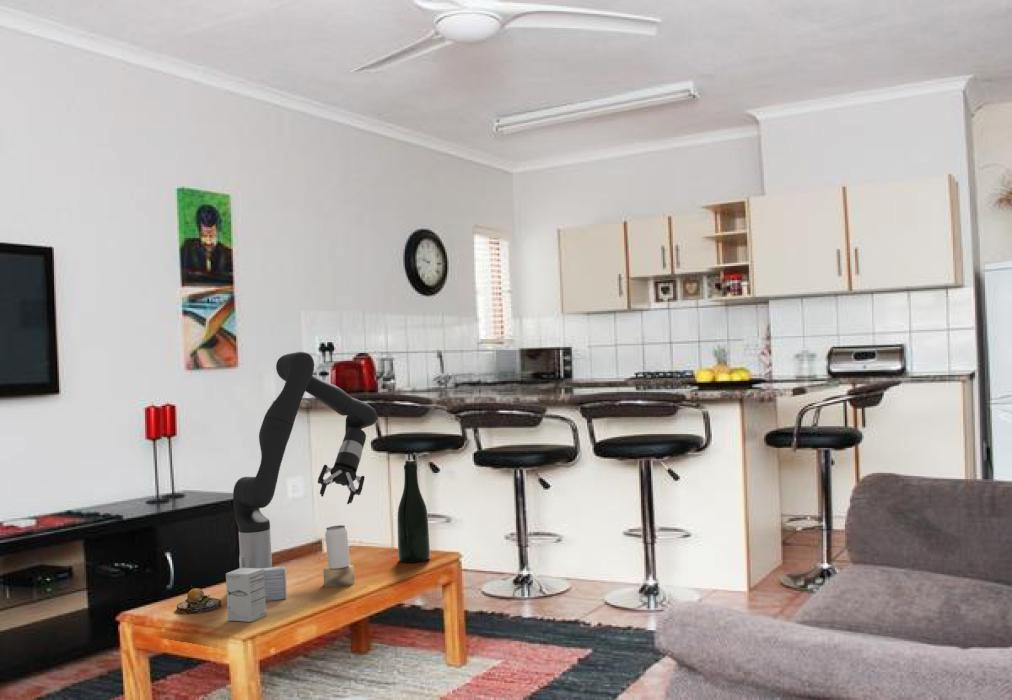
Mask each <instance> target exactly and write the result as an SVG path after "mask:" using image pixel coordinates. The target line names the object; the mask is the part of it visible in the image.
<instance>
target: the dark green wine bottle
mask: <svg viewBox="0 0 1012 700" xmlns="http://www.w3.org/2000/svg"><path fill="white" fill-rule="evenodd" d="M404 462H405V464H404V465H403V470H404V474H403V475H404V479H403V480H404V484H403V491H402V495H401V498H400V500H399V503H398V508H397V518H396V519H397V521H396V523H397V524H396V525H397V555H398V558H397V559H398V560H399V561H400V562H403V563H420V562H425V561H427V560H429V559H430V558H431V548H430V547H431V546H430V532H429V531H430V528H429V516H428V509H427V505H426V502H425V500H424V498H423V496H422V493H421V491H420V490H421V489H420V485H419V479H418V464H417V463H416V460H415V459H407V460H405V461H404Z"/></svg>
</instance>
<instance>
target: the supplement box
mask: <svg viewBox="0 0 1012 700" xmlns="http://www.w3.org/2000/svg"><path fill="white" fill-rule="evenodd" d="M225 580H226V581H225V582H226V583H225V586H226V608H227V611H226V612H227V621H228V622H229V621H230V622H231V621H233V622H234V621H235V622H248V623H251V622H254V621H257V620H258V619H260V618H263V617H265V616H266V615H267V612H266V611H267V608H266V606H267V605H266V602H267V601H265V578H264V569H260V568H240V567H239V568H237V569H234V570H231V571H229V572H226V573H225Z"/></svg>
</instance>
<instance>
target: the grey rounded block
mask: <svg viewBox="0 0 1012 700" xmlns="http://www.w3.org/2000/svg"><path fill="white" fill-rule="evenodd" d="M323 584H324V587H326V586H327V587H326V588H344V587H349V586H352V585H354V584H355V567H354V565H353V564H350V565H349V566H348V567H346V568H342V569H330V568H329V567H328V566H325V567H324V568H323Z"/></svg>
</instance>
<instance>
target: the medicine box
mask: <svg viewBox="0 0 1012 700" xmlns="http://www.w3.org/2000/svg"><path fill="white" fill-rule="evenodd" d="M261 569H264V578H265V601H266V602H269V601H278V600H279V601H280V600H287V596H288V594H287V593H288V592H287V591H288V590H287V576H286V575H287V573H286V566H283V565H282V566H274V567H273V566H272V567H271V568H261Z"/></svg>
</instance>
